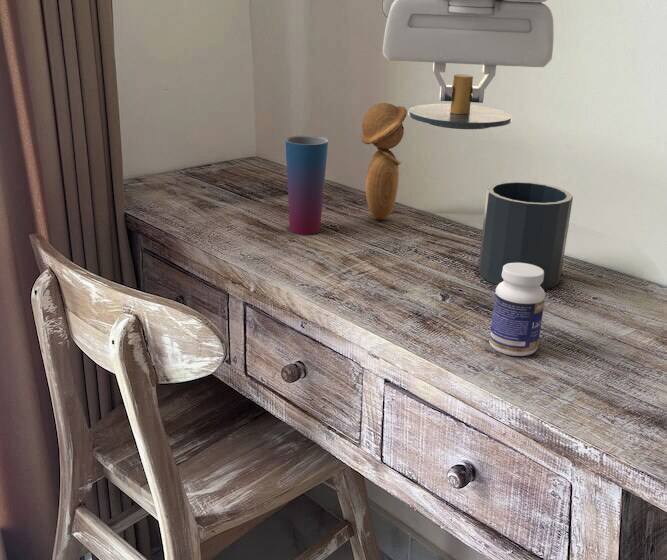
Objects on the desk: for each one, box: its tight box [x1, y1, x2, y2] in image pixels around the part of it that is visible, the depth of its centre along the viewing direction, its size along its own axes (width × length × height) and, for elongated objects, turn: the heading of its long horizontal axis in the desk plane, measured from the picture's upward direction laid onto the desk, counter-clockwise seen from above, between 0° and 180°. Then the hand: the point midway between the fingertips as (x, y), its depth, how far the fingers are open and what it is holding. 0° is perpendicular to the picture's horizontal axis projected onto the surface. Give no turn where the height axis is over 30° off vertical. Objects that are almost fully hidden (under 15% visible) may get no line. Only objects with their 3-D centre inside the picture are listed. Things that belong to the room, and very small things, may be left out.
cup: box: [284, 134, 329, 236], centre depth 132 cm, size 7×7×15 cm
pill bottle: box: [488, 263, 546, 357], centre depth 95 cm, size 6×6×10 cm
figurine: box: [360, 102, 408, 220], centre depth 137 cm, size 9×7×20 cm
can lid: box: [407, 73, 513, 130], centre depth 100 cm, size 13×13×6 cm
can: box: [478, 180, 574, 290], centre depth 116 cm, size 12×12×12 cm
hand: (461, 101), depth 100 cm, fingers closed on can lid, 2 cm apart
